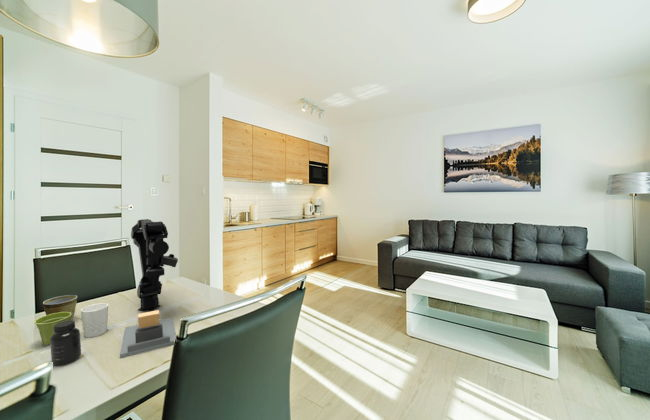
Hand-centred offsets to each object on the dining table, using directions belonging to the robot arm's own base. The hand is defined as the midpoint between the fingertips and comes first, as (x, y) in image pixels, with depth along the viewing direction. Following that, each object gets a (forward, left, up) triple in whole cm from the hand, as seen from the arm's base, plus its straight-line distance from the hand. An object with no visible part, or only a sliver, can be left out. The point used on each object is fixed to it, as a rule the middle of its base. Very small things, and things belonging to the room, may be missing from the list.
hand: (155, 287), depth 115 cm
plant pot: (-22, -22, -13) cm, 34 cm away
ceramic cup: (-35, -10, -13) cm, 39 cm away
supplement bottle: (-6, -31, -13) cm, 34 cm away
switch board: (+9, -15, -13) cm, 22 cm away
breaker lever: (+12, -18, -7) cm, 23 cm away
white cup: (-13, -15, -13) cm, 24 cm away
